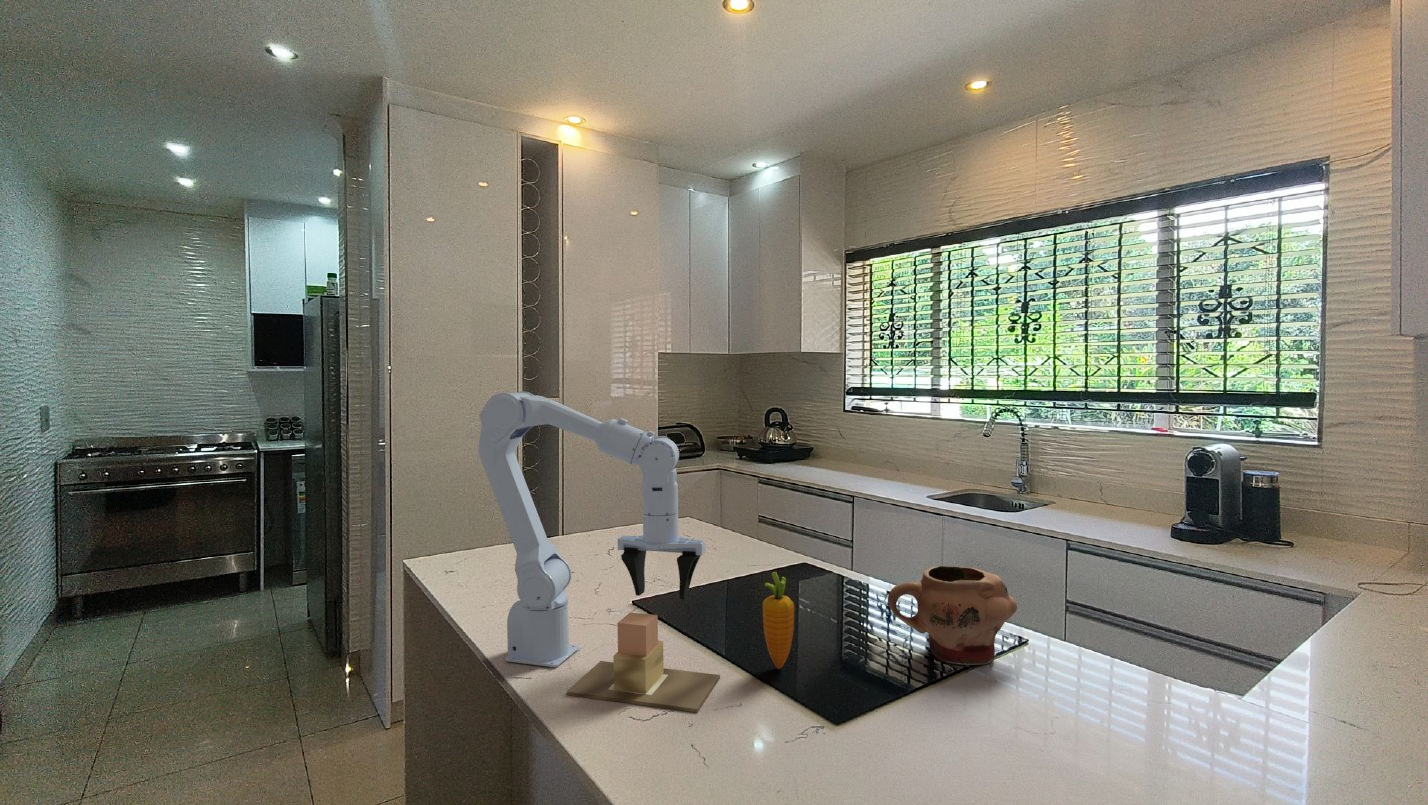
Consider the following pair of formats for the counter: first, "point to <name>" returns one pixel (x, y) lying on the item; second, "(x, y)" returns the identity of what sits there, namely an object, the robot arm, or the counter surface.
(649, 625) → the terracotta cube
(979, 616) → the brown clay mug
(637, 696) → the brown wooden board
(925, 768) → the counter surface
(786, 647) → the carrot
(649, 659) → the oak block
